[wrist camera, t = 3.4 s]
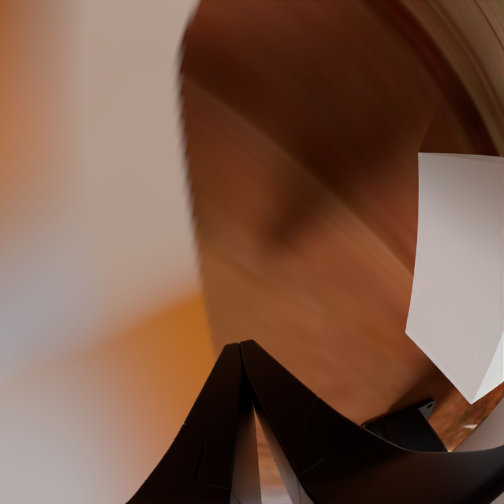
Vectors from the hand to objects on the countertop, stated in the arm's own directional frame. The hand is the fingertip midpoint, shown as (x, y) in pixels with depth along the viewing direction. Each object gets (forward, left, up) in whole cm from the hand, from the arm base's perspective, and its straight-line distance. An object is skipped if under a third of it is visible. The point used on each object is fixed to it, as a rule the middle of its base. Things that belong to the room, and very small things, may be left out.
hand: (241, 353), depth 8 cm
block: (0, -12, -3) cm, 12 cm away
